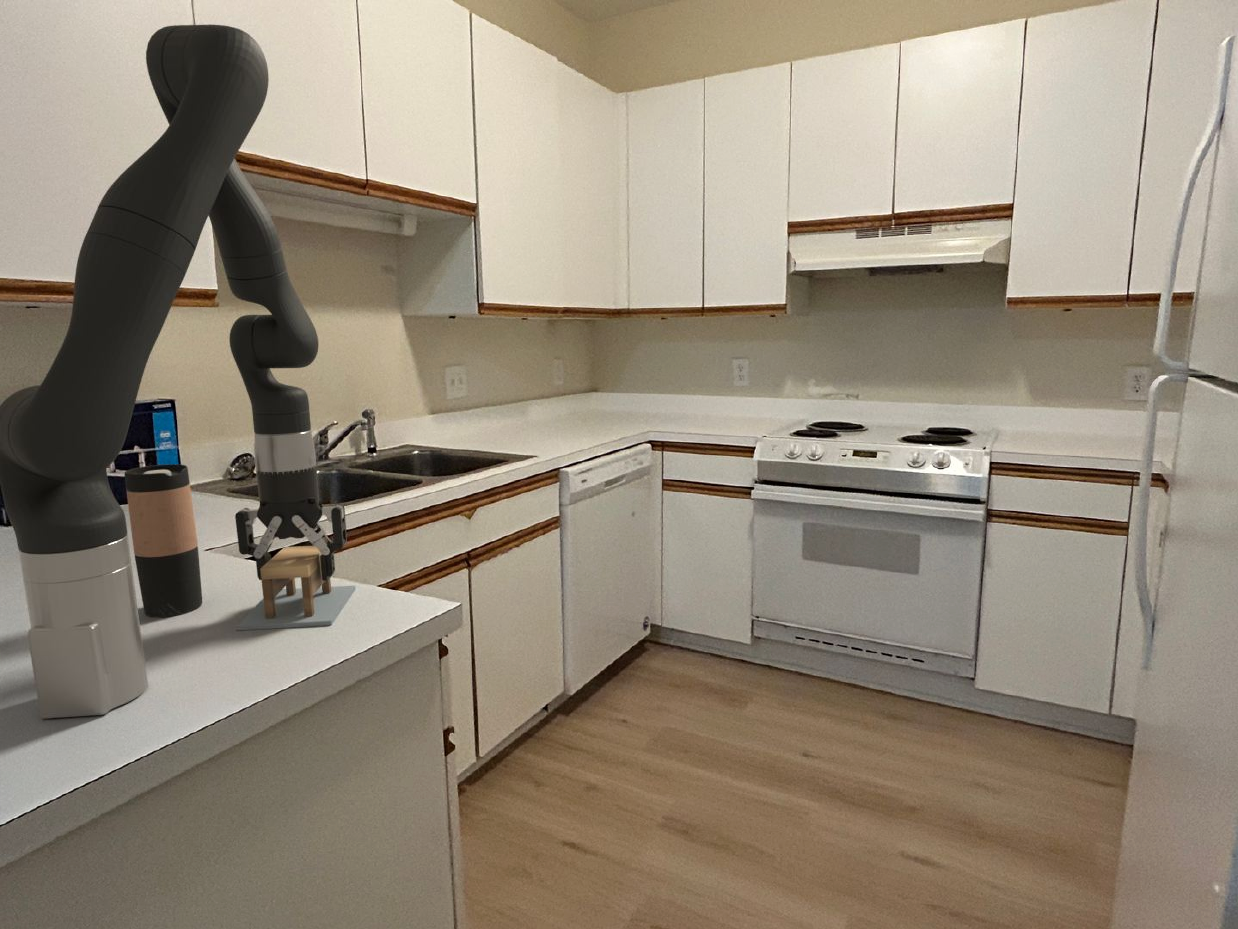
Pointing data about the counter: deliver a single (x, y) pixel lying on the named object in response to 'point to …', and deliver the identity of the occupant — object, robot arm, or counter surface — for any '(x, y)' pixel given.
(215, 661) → the counter surface
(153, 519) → the travel mug
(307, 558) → the stool
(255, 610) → the mat
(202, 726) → the counter surface
